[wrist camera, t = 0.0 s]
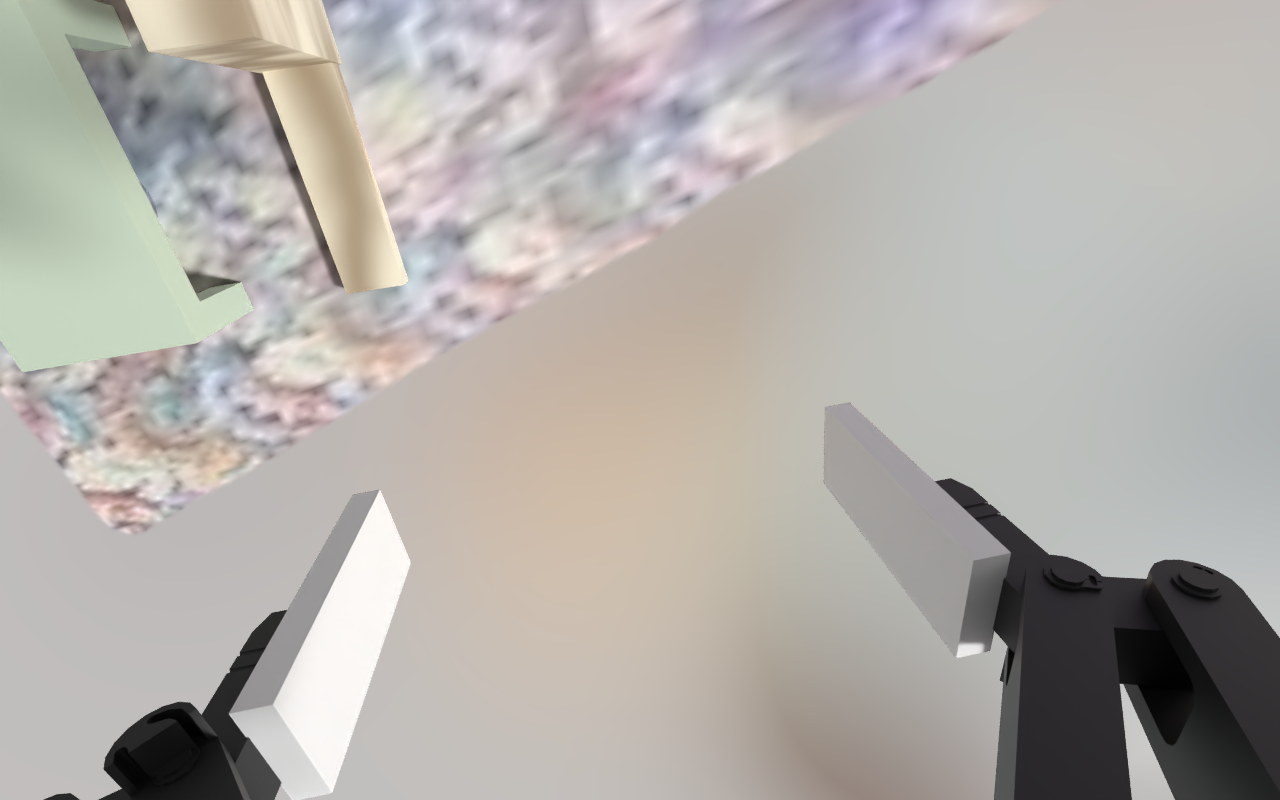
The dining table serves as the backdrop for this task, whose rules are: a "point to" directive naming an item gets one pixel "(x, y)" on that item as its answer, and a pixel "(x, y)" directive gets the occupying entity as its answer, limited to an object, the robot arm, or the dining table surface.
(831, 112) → the dining table surface
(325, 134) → the pusher
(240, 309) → the footstool
